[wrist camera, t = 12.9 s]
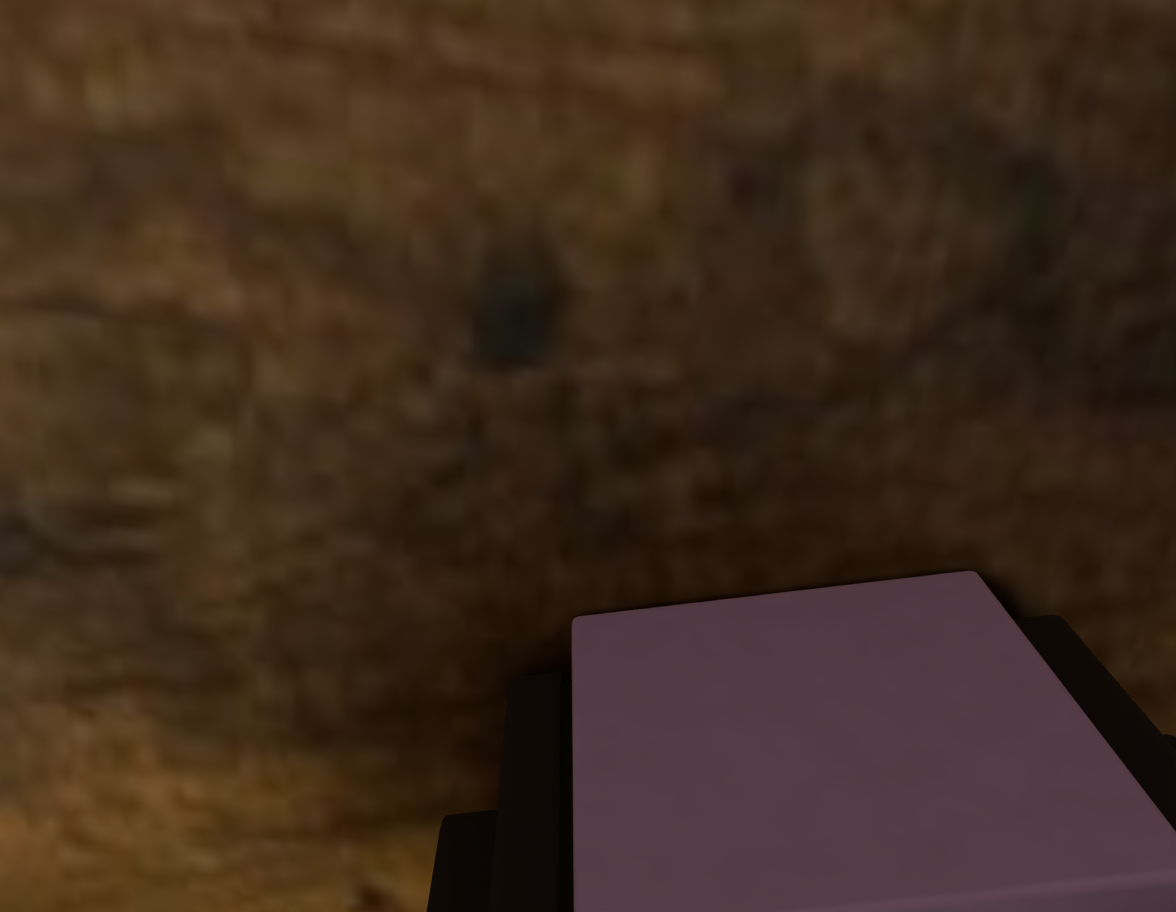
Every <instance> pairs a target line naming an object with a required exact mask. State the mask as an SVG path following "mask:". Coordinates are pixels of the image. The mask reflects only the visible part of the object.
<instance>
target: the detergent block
mask: <svg viewBox="0 0 1176 912" xmlns="http://www.w3.org/2000/svg"><path fill="white" fill-rule="evenodd" d="M572 740H573V872H574V912H1176V831H1175V830H1174V829H1173V827H1172V826H1171V825H1170V824H1169V822H1168V821H1167V820H1166V818H1165V817H1164V816H1163V814H1162V813H1161V812H1160V811H1159V809H1158V808H1157V807H1156V805H1155V804H1154V803H1153V801H1152V800H1151V799H1150V798H1149V796H1148V795H1147V794H1146V792H1145V791H1144V790H1143V788H1142V787H1141V786H1140V785H1139V783H1138V782H1137V781H1136V779H1135V778H1134V777H1133V775H1132V774H1131V773H1130V772H1129V770H1128V769H1127V768H1126V766H1125V765H1124V764H1123V762H1122V761H1121V760H1120V759H1119V757H1118V756H1117V755H1116V753H1115V752H1114V751H1113V749H1112V748H1111V747H1110V746H1109V744H1108V743H1107V742H1106V740H1105V739H1104V738H1103V736H1102V735H1101V734H1100V733H1099V731H1098V730H1097V729H1096V727H1095V726H1094V725H1093V723H1092V722H1091V721H1090V720H1089V718H1088V717H1087V716H1086V714H1085V713H1084V712H1083V710H1082V709H1081V708H1080V706H1079V705H1078V704H1077V703H1076V701H1075V700H1074V699H1073V697H1072V696H1071V695H1070V693H1069V692H1068V691H1067V690H1066V688H1065V687H1064V686H1063V684H1062V683H1061V682H1060V680H1059V679H1058V678H1057V677H1056V675H1055V674H1054V673H1053V671H1052V670H1051V669H1050V667H1049V666H1048V665H1047V664H1046V662H1045V661H1044V660H1043V658H1042V657H1041V656H1040V654H1039V653H1038V652H1037V651H1036V649H1035V648H1034V647H1033V645H1032V644H1031V643H1030V641H1029V640H1028V639H1027V638H1026V636H1025V635H1024V634H1023V632H1022V631H1021V630H1020V628H1019V627H1018V626H1017V625H1016V623H1015V622H1014V621H1013V619H1012V618H1011V617H1010V615H1009V614H1008V613H1007V612H1006V610H1005V609H1004V608H1003V606H1002V605H1001V604H1000V602H999V601H998V600H997V599H996V597H995V596H994V595H993V593H992V592H991V591H990V589H989V588H988V587H987V586H986V584H985V583H984V582H983V580H982V579H981V578H980V576H979V575H978V574H977V573H976V572H974V571H962V572H953V573H944V574H936V575H927V576H919V577H910V578H902V579H893V580H885V581H876V582H868V583H859V584H851V585H842V586H834V587H825V588H816V589H808V590H799V591H791V592H782V593H774V594H765V595H757V596H748V597H740V598H731V599H723V600H714V601H706V602H697V603H688V604H680V605H671V606H663V607H654V608H646V609H637V610H629V611H620V612H612V613H603V614H595V615H586V616H578V617H576V618H574V619H573V622H572Z"/></svg>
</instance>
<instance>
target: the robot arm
mask: <svg viewBox="0 0 1176 912" xmlns="http://www.w3.org/2000/svg"><path fill="white" fill-rule="evenodd" d="M1013 621H1014V622H1015V623H1016V625H1017V626H1018V627H1019V628H1020V630H1021V631H1022V632H1023V634H1024V635H1025V636H1026V638H1027V639H1028V640H1029V641H1030V643H1031V644H1032V645H1033V647H1034V648H1035V649H1036V651H1037V652H1038V653H1039V654H1040V656H1041V657H1042V658H1043V660H1044V661H1045V662H1046V664H1047V665H1048V666H1049V667H1050V669H1051V670H1052V671H1053V673H1054V674H1055V675H1056V677H1057V678H1058V679H1059V680H1060V682H1061V683H1062V684H1063V686H1064V687H1065V688H1066V690H1067V691H1068V692H1069V693H1070V695H1071V696H1072V697H1073V699H1074V700H1075V701H1076V703H1077V704H1078V705H1079V706H1080V708H1081V709H1082V710H1083V712H1084V713H1085V714H1086V716H1087V717H1088V718H1089V720H1090V721H1091V722H1092V723H1093V725H1094V726H1095V727H1096V729H1097V730H1098V731H1099V733H1100V734H1101V735H1102V736H1103V738H1104V739H1105V740H1106V742H1107V743H1108V744H1109V746H1110V747H1111V748H1112V749H1113V751H1114V752H1115V753H1116V755H1117V756H1118V757H1119V759H1120V760H1121V761H1122V762H1123V764H1124V765H1125V766H1126V768H1127V769H1128V770H1129V772H1130V773H1131V774H1132V775H1133V777H1134V778H1135V779H1136V781H1137V782H1138V783H1139V785H1140V786H1141V787H1142V788H1143V790H1144V791H1145V792H1146V794H1147V795H1148V796H1149V798H1150V799H1151V800H1152V801H1153V803H1154V804H1155V805H1156V807H1157V808H1158V809H1159V811H1160V812H1161V813H1162V814H1163V816H1164V817H1165V818H1166V820H1167V821H1168V822H1169V824H1170V825H1171V826H1172V827H1173V829H1174V830H1175V831H1176V737H1174V736H1172V735H1169V734H1165V735H1162V734H1161V733H1160V731H1159V730H1158V729H1157V728H1156V727H1155V726H1154V724H1153V723H1152V722H1151V721H1150V720H1149V719H1148V717H1147V716H1146V715H1145V714H1144V713H1143V712H1142V710H1141V709H1140V708H1139V707H1138V706H1137V705H1136V703H1135V702H1134V701H1133V700H1132V699H1131V697H1130V696H1129V695H1128V694H1127V693H1126V692H1125V690H1124V689H1123V688H1122V687H1121V686H1120V685H1119V683H1118V682H1117V681H1116V680H1115V679H1114V678H1113V676H1112V675H1111V674H1110V673H1109V672H1108V671H1107V669H1106V668H1105V667H1104V666H1103V665H1102V664H1101V662H1100V661H1099V660H1098V659H1097V658H1096V657H1095V655H1094V654H1093V653H1092V652H1091V651H1090V650H1089V648H1088V647H1087V646H1086V645H1085V644H1084V643H1083V641H1082V640H1081V639H1080V638H1079V637H1078V636H1077V634H1076V633H1075V632H1074V631H1073V630H1072V629H1071V627H1070V626H1069V625H1068V624H1067V623H1066V622H1065V620H1063V619H1062V618H1061V617H1060V616H1058V615H1047V616H1038V617H1030V618H1021V619H1013ZM427 912H574V872H573V740H572V685H565V683H564V678H563V674H562V672H555V673H547V674H538V675H530V676H521V677H512V678H510V680H509V686H508V698H507V709H506V720H505V731H504V742H503V753H502V765H501V776H500V787H499V798H498V809H497V810H488V811H479V812H470V813H461V814H452V815H446V816H445V817H444V819H443V820H442V824H441V828H440V832H439V838H438V845H437V851H436V857H435V863H434V869H433V876H432V882H431V888H430V894H429V901H428V907H427Z"/></svg>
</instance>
